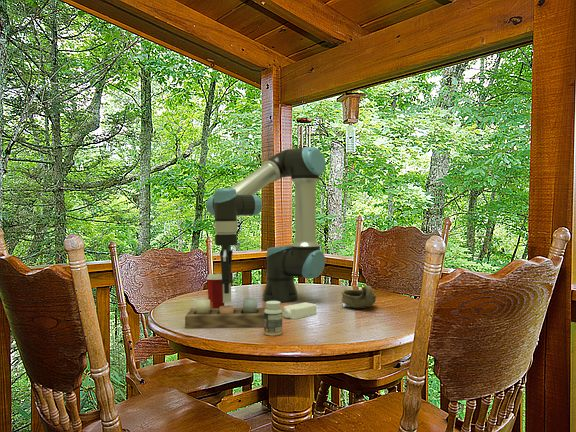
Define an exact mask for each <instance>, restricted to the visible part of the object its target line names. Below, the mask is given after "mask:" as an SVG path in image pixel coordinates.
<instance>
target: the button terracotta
mask: <svg viewBox="0 0 576 432" xmlns="http://www.w3.org/2000/svg"><path fill="white" fill-rule="evenodd" d="M234 308H235V307H234V305H224V306H220V314H234Z"/></svg>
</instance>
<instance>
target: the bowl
mask: <svg viewBox="0 0 576 432" xmlns="http://www.w3.org/2000/svg"><path fill="white" fill-rule="evenodd" d="M341 295H342V297H341V303H343V304H345V305H346V306H347V307H350V308H354V309H366V308H368V307H371V306H372V305H374V304H375V303H376V300H377V299H376V297H377V294H376V293H375V292H374V291H373V288H372V286H370V285H364V286H363V289H345V290H343V291H341Z"/></svg>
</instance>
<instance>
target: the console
mask: <svg viewBox="0 0 576 432" xmlns="http://www.w3.org/2000/svg"><path fill="white" fill-rule="evenodd" d="M265 309H266V308H265V307H257V313H243V307H234V314H220V308H210V314H196V308H190V310H189V311H188V313H187V314H185V316H184V329H230V328H231V329H235V328H236V329H237V328H239V329H240V328H241V329H242V328H243V329H244V328H246V329H248V328H264V310H265Z"/></svg>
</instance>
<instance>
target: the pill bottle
mask: <svg viewBox="0 0 576 432" xmlns="http://www.w3.org/2000/svg"><path fill="white" fill-rule="evenodd" d="M281 303H282V302H279V301H266V302H265V307H266V308H265V310H264V327H263V333H264V334H265V335H266V336H271V337H272V336H273V337H274V336H279V335H282V333H283V309H282V308H281V306H282V305H281Z"/></svg>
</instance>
